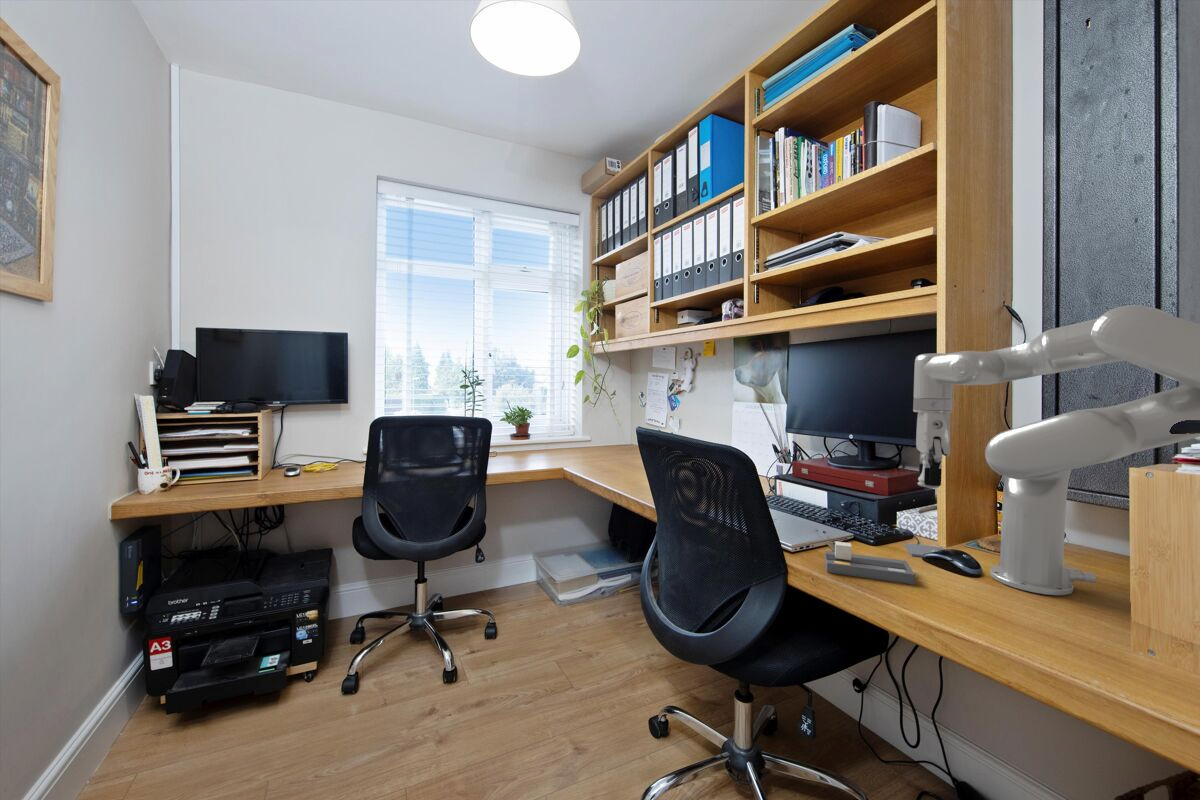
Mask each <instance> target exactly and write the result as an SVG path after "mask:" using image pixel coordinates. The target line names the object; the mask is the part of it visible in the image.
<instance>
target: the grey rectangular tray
mask: <svg viewBox="0 0 1200 800" xmlns="http://www.w3.org/2000/svg"><path fill="white" fill-rule="evenodd" d="M824 562H825V569H826V573H830V574H835V575H836V574H837V575H844V576H852V577H858V578H865V579H872V580H873V579H874V580H879V581H880V580H881V581H888V582H896V583H901V584H907V585H915V584H916V583H915V582H916V581H915V580H916V579H915V578H916V574H915V573H914V570H913V569H912V567H911V566H910V565H909V563H908V561H907V560H905V559H904V560H903V559H894V558H889V557H887V558H886V557H881V556H880V557H879V556H870V555H865V554H864V555H862V554H855V553H851V560H844V559H837V558H836V557H835V552H833V551H832V550H824Z"/></svg>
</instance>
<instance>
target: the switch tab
mask: <svg viewBox="0 0 1200 800" xmlns="http://www.w3.org/2000/svg"><path fill="white" fill-rule="evenodd" d="M834 546H835V557H836V558H837V559H844V560H851V554H852V549H853V548H852V543H851V542H843V541H837V540H836V541H834Z"/></svg>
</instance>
